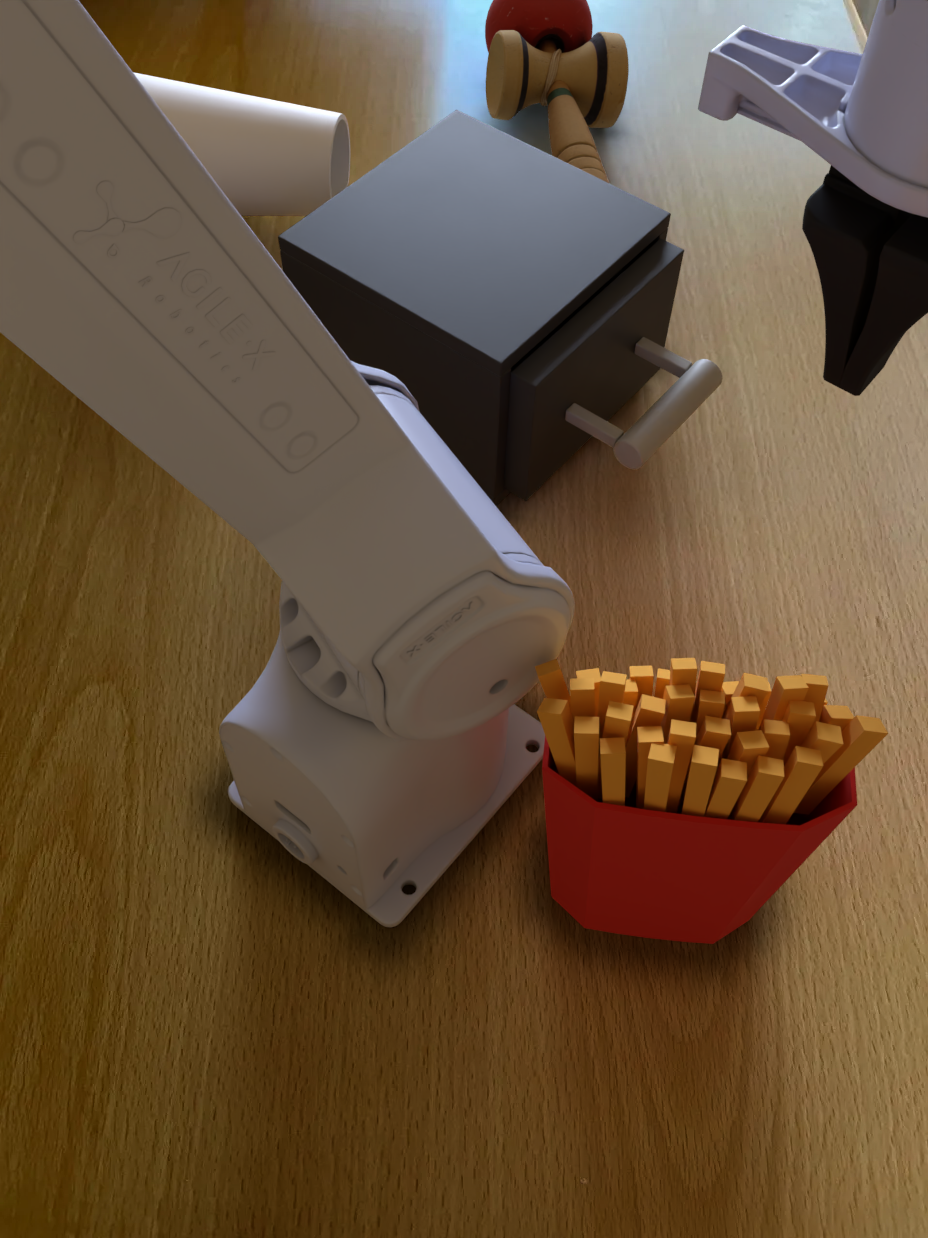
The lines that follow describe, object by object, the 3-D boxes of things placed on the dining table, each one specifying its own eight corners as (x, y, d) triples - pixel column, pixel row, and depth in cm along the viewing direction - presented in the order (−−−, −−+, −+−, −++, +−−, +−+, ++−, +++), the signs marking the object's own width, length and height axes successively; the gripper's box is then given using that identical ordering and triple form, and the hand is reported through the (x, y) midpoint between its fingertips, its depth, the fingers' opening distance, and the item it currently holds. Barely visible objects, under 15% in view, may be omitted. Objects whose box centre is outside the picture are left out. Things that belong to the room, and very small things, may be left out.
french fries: (774, 839, 42) (888, 640, 31) (777, 957, 39) (901, 787, 29) (517, 809, 42) (541, 603, 32) (505, 924, 40) (526, 744, 29)
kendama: (673, 255, 62) (600, 24, 69) (675, 163, 56) (595, -77, 64) (528, 288, 62) (472, 55, 70) (516, 201, 56) (455, -42, 64)
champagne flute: (-183, 94, 55) (319, 143, 53) (-122, 19, 59) (349, 62, 57) (-126, 217, 61) (331, 265, 59) (-73, 141, 64) (358, 184, 62)
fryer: (643, 364, 55) (671, 212, 48) (493, 509, 50) (501, 363, 43) (455, 262, 59) (456, 108, 52) (299, 387, 54) (277, 235, 47)
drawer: (733, 408, 52) (767, 289, 47) (601, 549, 48) (621, 435, 42) (482, 273, 57) (486, 150, 52) (341, 388, 53) (329, 268, 47)
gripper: (1363, 3, 28) (1102, 404, 40) (830, -174, 33) (733, 227, 45) (1267, 137, 25) (1014, 531, 36) (696, -80, 30) (628, 326, 41)
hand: (853, 372), depth 40 cm, fingers closed
